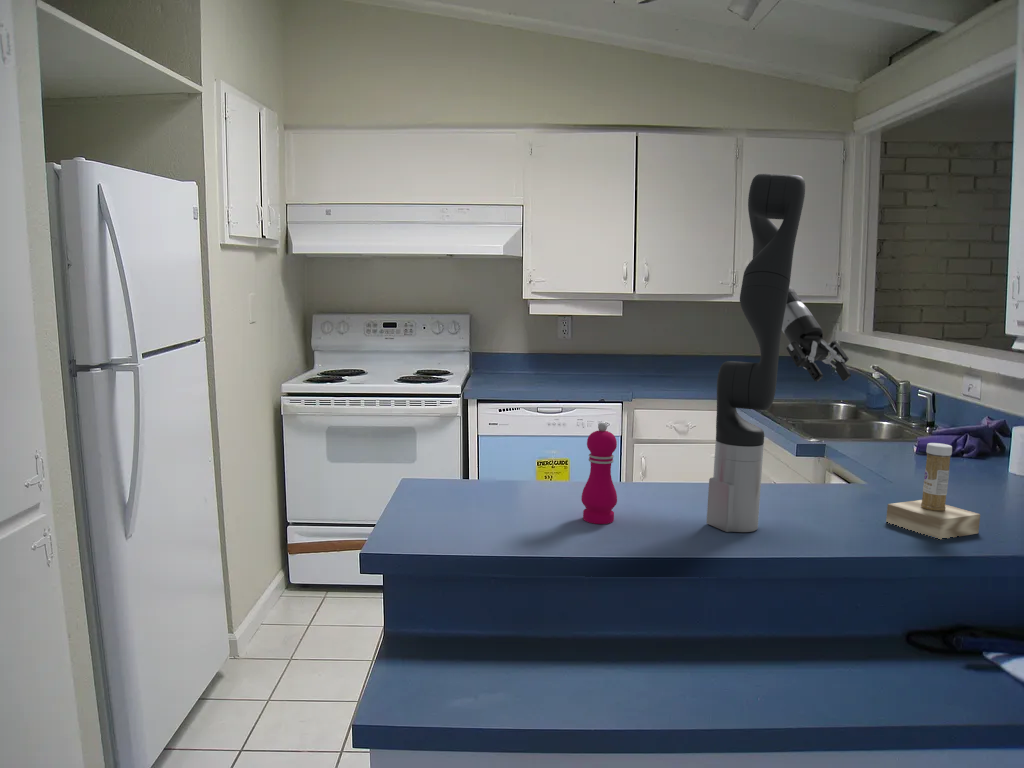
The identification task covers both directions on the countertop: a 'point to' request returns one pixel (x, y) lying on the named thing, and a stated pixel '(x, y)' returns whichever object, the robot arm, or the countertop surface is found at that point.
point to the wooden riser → (933, 519)
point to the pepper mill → (600, 478)
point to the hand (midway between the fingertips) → (833, 378)
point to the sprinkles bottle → (936, 476)
